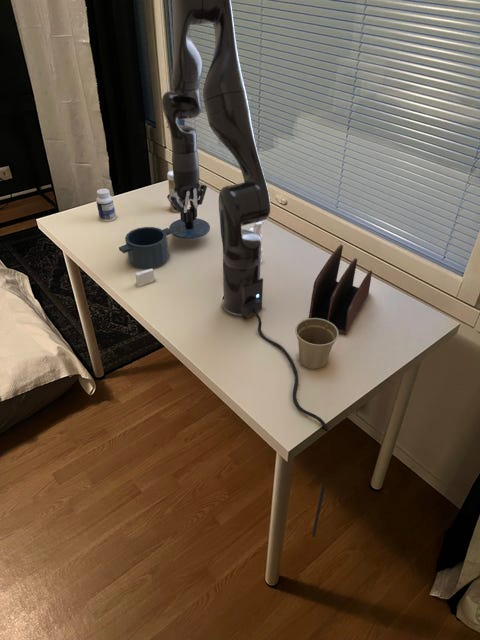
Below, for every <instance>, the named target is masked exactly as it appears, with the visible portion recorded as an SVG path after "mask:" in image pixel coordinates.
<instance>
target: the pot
mask: <svg viewBox="0 0 480 640" xmlns="http://www.w3.org/2000/svg"><path fill="white" fill-rule="evenodd" d="M169 235H172V230H170V229H169V227H166V228H163V229H161V228H158V227H154V226H143V227H142V226H141V227H137V228H134V229H132V230H130V231H129V232H128V233H126V235H125V236H124V240H125V244H124V245H121V246H119V247H118V250H119V252H121V253H122V254H126V253H127V259H128V263H129V265H131V267H133V268H135V269H140V270H148V269H151V268H152V269H153V270H154V269H157V268H160V267H162V266H164V265H165V264H167V262H168V260H169V246H168V238H167V237H168V236H169Z"/></svg>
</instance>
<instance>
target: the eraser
mask: <svg viewBox="0 0 480 640" xmlns="http://www.w3.org/2000/svg"><path fill="white" fill-rule="evenodd" d="M134 276H135V281H136V286H137V287H141V286H145V285H148V284H151V283H154V282H155V272H154V268H153V269H152V268H151V269H144V270H142V271H138V272H135V275H134Z"/></svg>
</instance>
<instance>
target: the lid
mask: <svg viewBox="0 0 480 640" xmlns="http://www.w3.org/2000/svg"><path fill="white" fill-rule="evenodd" d="M187 212H188V223H184V222H182V221H181V218H179V219H177V220H175V221H173V222H172V223H170V225H169V226H168V228H169V229H170V230H172V234H171V235H172V236H173V237H175V238H178V239H183V240H195V239H198V238H202V237H205V236H206V235H207V234H209V232H210V231H211V226H210V225H211V224H210V223H209V222H208V221H206V220H205V219H201V218H198V217H196V220H193V210H191V209H190V208H187Z"/></svg>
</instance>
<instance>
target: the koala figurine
mask: <svg viewBox="0 0 480 640" xmlns="http://www.w3.org/2000/svg"><path fill="white" fill-rule="evenodd" d="M264 223H265V220H263V221H260V222H256V223H253V227H249V228H247V230H249V231H252V232H254V233H256V234H257V235H258V236H259V237H260V238H261V241H262V240H263V234H262V226H263V225H264ZM261 254H263V246H262V245H261ZM261 263H263V259H261Z"/></svg>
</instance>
